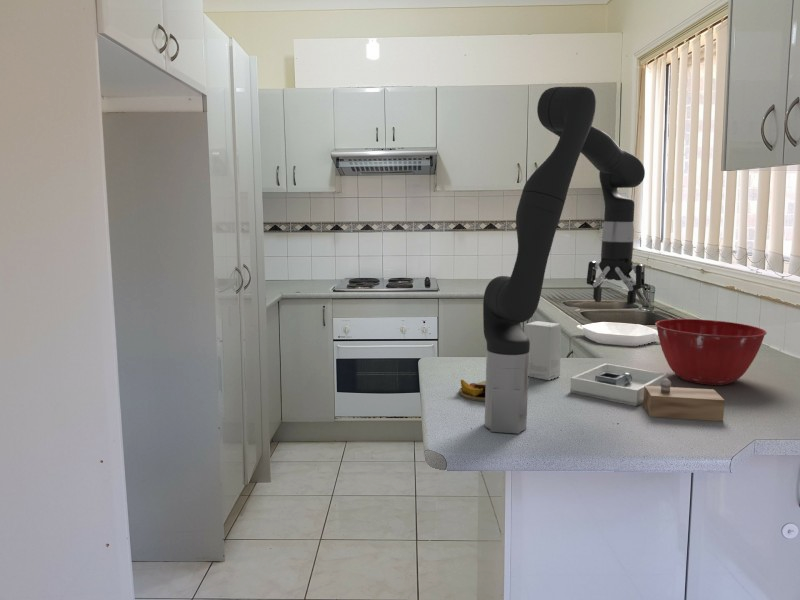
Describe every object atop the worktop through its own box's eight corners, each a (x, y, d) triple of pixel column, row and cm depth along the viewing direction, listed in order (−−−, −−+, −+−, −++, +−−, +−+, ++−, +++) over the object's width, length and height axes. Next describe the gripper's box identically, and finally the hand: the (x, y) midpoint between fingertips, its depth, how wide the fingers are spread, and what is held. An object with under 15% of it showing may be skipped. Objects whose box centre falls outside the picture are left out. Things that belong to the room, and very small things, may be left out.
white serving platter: (571, 343, 237) (572, 330, 237) (580, 331, 260) (580, 320, 260) (662, 350, 226) (663, 338, 225) (663, 337, 249) (664, 326, 248)
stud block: (723, 421, 151) (725, 387, 150) (649, 416, 154) (652, 382, 153) (712, 409, 160) (714, 377, 159) (643, 405, 163) (645, 373, 161)
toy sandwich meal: (486, 386, 179) (486, 369, 178) (520, 399, 167) (521, 381, 167) (449, 393, 172) (449, 375, 171) (482, 407, 161) (482, 388, 160)
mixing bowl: (657, 362, 207) (661, 314, 205) (760, 374, 194) (765, 323, 192) (645, 383, 182) (649, 329, 180) (762, 398, 169) (768, 339, 167)
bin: (636, 406, 162) (637, 390, 161) (570, 392, 173) (570, 377, 172) (666, 388, 178) (667, 373, 177) (604, 376, 189) (605, 363, 189)
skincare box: (560, 377, 188) (563, 323, 186) (548, 381, 184) (551, 326, 181) (535, 372, 194) (537, 320, 192) (522, 376, 189) (524, 322, 187)
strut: (639, 384, 179) (640, 368, 178) (615, 396, 167) (616, 379, 166) (619, 380, 183) (620, 364, 182) (594, 392, 171) (595, 375, 170)
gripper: (651, 240, 163) (647, 305, 166) (597, 238, 173) (594, 299, 175) (639, 241, 158) (635, 308, 160) (584, 239, 167) (580, 302, 170)
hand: (613, 303), depth 168 cm, fingers open, 8 cm apart
